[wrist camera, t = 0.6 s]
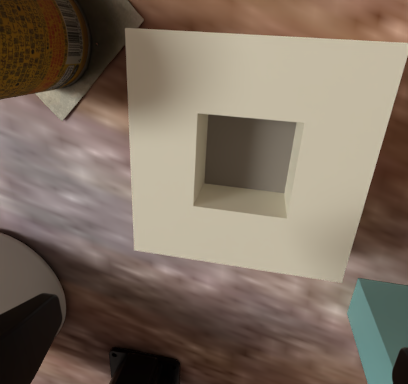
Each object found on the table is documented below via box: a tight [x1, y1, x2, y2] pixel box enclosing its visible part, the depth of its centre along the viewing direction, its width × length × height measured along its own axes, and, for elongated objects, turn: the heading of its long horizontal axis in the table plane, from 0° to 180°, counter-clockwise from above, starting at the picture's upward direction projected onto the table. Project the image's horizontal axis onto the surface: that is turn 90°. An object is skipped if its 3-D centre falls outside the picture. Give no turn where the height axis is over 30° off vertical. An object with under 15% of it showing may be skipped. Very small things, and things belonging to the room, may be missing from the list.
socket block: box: [125, 28, 408, 283], centre depth 18 cm, size 12×12×4 cm
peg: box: [347, 278, 408, 384], centre depth 18 cm, size 3×3×9 cm
